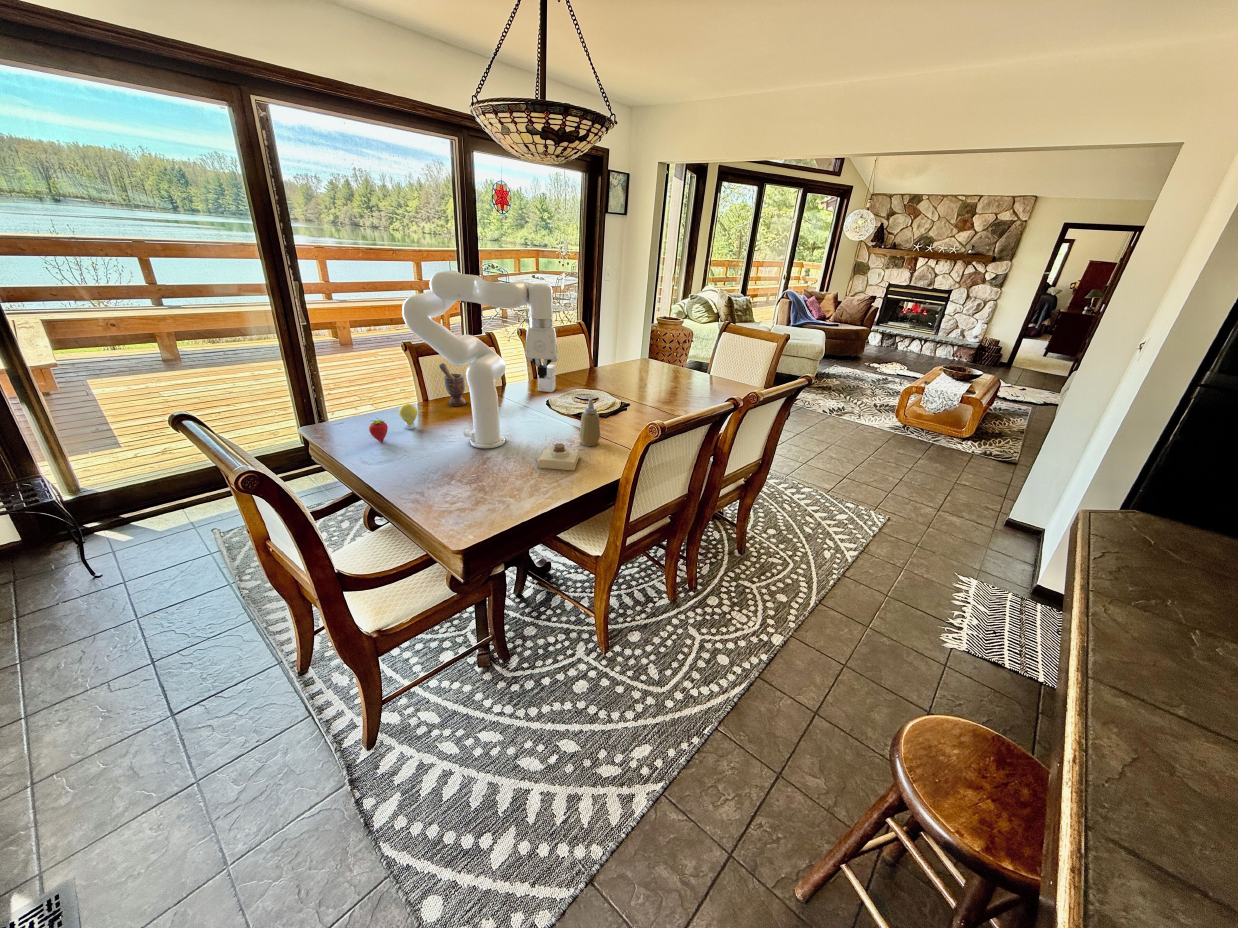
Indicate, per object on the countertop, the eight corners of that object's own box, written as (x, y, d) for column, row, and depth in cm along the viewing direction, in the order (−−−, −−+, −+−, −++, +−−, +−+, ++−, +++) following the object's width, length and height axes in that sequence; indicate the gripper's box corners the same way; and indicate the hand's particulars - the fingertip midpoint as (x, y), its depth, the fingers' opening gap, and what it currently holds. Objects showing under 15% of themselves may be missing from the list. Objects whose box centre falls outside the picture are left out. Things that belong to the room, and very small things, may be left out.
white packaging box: (537, 391, 242) (537, 366, 237) (542, 387, 249) (541, 363, 243) (551, 392, 241) (551, 368, 236) (556, 388, 248) (555, 364, 242)
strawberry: (368, 445, 174) (363, 419, 169) (377, 437, 180) (372, 412, 176) (384, 446, 174) (380, 420, 169) (393, 438, 181) (388, 413, 176)
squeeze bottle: (597, 449, 180) (598, 403, 173) (576, 446, 182) (577, 400, 174) (602, 441, 188) (603, 396, 180) (582, 438, 189) (583, 394, 181)
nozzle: (553, 452, 164) (553, 447, 164) (555, 448, 168) (555, 443, 167) (563, 453, 164) (563, 448, 163) (565, 449, 167) (565, 443, 167)
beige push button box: (539, 467, 164) (539, 454, 162) (545, 455, 173) (545, 443, 171) (574, 470, 163) (574, 457, 161) (578, 458, 172) (578, 445, 170)
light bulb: (397, 429, 189) (393, 405, 184) (410, 424, 194) (406, 400, 190) (411, 432, 186) (407, 408, 182) (423, 427, 192) (420, 403, 188)
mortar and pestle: (460, 409, 213) (456, 365, 204) (441, 408, 213) (436, 363, 204) (469, 401, 223) (465, 358, 215) (450, 400, 223) (446, 357, 215)
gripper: (515, 324, 156) (518, 379, 164) (561, 326, 155) (561, 382, 163) (522, 320, 163) (524, 373, 170) (565, 323, 162) (565, 376, 170)
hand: (542, 377), depth 167 cm, fingers closed
